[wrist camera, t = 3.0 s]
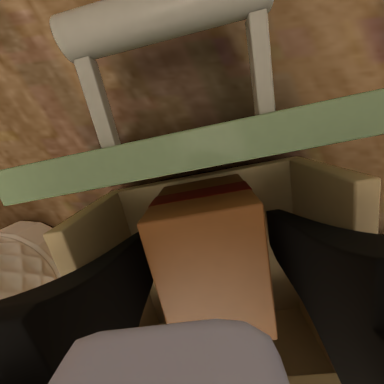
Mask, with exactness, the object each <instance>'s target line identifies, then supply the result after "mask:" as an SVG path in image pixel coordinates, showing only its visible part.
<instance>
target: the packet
mask: <svg viewBox="0 0 384 384" xmlns="http://www.w3.org/2000/svg"><path fill="white" fill-rule="evenodd" d="M137 228H138V232H139V235H140V238H141V241H142V245H143V248H144V251H145V255H146V258H147V261H148V264H149V268H150V271H151V274H152V278H153V281H154V284H155V288H156V291H157V294H158V297H159V301H160V304H161V307H162V311H163V314H164V317H165V320H166V324H171V323H180V322H189V321H198V320H207V319H216V318H217V319H227V320H238V321H245V322H247V323H249V324H250V325H252V326H254V327H256V328H257V329H259V330H261V331H263V332H264V333H266V334H268V335H269V336H270V337H271V339H272V340H277V339H278V333H277V324H276V315H275V305H274V296H273V287H272V278H271V269H270V260H269V251H268V242H267V233H266V224H265V215H264V206H263V203H262V202H261V201H260V200H259V198H258V197H257V196H256V195H255V194H254V192H253V191H252V188H251V187H250V186H249V185H248V184H247V182H246V181H244V180H243V179H242V178H241V176H240V175H239V174H232V175H226V176H221V177H216V178H210V179H205V180H199V181H194V182H188V183H183V184H177V185H172V186H167V187H163V189H162V190H161V191H160V193H159V194H158V196H157V197H155V198H154V200H153V201H152V202H151V204H150V205H149V206H148V209H147V211H146V212H145V213H144V215H143V216H142V218H141V219H140V220H139V222H138V223H137Z"/></svg>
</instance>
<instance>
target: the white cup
mask: <svg viewBox="0 0 384 384" xmlns="http://www.w3.org/2000/svg"><path fill="white" fill-rule="evenodd" d="M51 229H52V227H50V226H48V225H46V224H43V223H41V222H32V221H19V222H16V223H14V224H11V225H9V226H7V227H4V228H2V229H0V300H1V299H4V298H7V297H10V296H14V295H17V294H19V293H22V292H25V291H28V290H30V289H33V288H36V287H38V286H41V285H43V284H46V283H48V282H51V281H53V280H55V279H57V278H60V277H61V275H60V273H59V270H58V268H57V266H56V264H55V262H54V259H53V257H52V255H51V253H50V250H49V248H48V246H47V244H46V242H45V239H44V237H43V234H44V233H46V232H47V231H49V230H51Z"/></svg>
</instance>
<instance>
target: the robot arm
mask: <svg viewBox="0 0 384 384" xmlns="http://www.w3.org/2000/svg"><path fill="white" fill-rule="evenodd" d="M266 215H267V224H268V234H269V243H270V246H271V249H272V251H273V253H274V256H275V258H276V260H277V262H278V263H279V265H280V266H281V268H282V270H283V271H284V273H285V275H286V276H287V278H288V279H289V281H290V282H291V284H292V286H293V287H294V289H295V290H296V292H297V294H298V295H299V297H300V299H301V300H302V302H303V304H304V306H305V308H306V310H307V312H308V314H309V316H310V318H311V320H312V322H313V324H314V326H315V328H316V330H317V332H318V334H319V336H320V339H321V341H322V343H323V345H324V347H325V349H326V351H327V353H328V356H329V358H330V360H331V362H332V364H333V367H334V369H335V371H336V373H337V376H338V378H339V380H340V382H341V384H384V235H381V234H374V233H367V232H360V231H354V230H349V229H345V228H340V227H335V226H331V225H327V224H324V223H320V222H317V221H313V220H310V219H307V218H304V217H301V216H298V215H295V214H293V213H290V212H287V211H284V210H280V209H276V210H269V211H266ZM152 284H153V278H152V274H151V271H150V268H149V264H148V261H147V258H146V255H145V251H144V248H143V245H142V241H141V238H140V235H139V232H137V233H135V234H133V235H132V236H130V237H129V238H127V239H125V240H124V241H123V242H121V243H120V244H118V245H117V246H115V247H114V248H112V249H111V250H109V251H108V252H106V253H104V254H103V255H101V256H100V257H98V258H96V259H95V260H93V261H91V262H90V263H88V264H86V265H84V266H82V267H80V268H79V269H77V270H75V271H73V272H70V273H68V274H66V275H64V276H62V277H60V278H57V279H55V280H53V281H51V282H48V283H46V284H43V285H41V286H38V287H36V288H33V289H30V290H28V291H25V292H22V293H19V294H17V295H14V296H10V297H7V298H4V299H1V300H0V384H290V383H289V380H288V377H287V374H286V371H285V368H284V365H283V363H282V360H281V357H280V355H279V353H278V351H277V349H276V347H275V345H274V343H273V341H272V339H271V337H270V336H269V335H268V334H266V333H264V332H263V331H261V330H259V329H257V328H256V327H254V326H252V325H250V324H249V323H247V322H245V321H238V320H227V319H217V318H216V319H207V320H198V321H189V322H180V323H171V324H161V325H152V326H143V327H139V324H140V320H141V317H142V314H143V311H144V308H145V305H146V302H147V299H148V296H149V293H150V290H151V287H152Z"/></svg>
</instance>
